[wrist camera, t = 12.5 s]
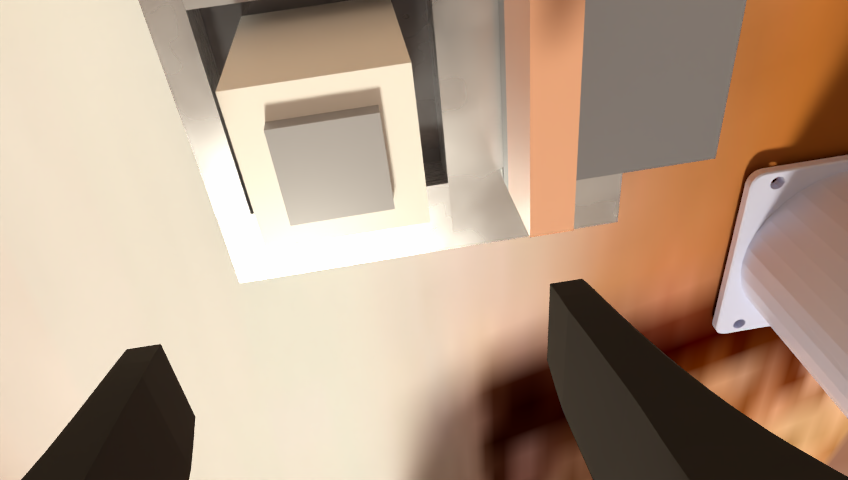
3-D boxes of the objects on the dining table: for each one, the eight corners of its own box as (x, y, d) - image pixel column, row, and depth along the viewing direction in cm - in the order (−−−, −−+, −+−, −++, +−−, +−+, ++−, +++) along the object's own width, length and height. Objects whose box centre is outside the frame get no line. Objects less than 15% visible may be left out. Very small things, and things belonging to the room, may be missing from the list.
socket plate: (623, -177, 16) (656, -173, 14) (596, 190, 23) (617, 222, 21) (125, -112, 15) (102, -100, 14) (245, 246, 22) (239, 283, 20)
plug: (388, -6, 17) (413, 69, 13) (406, 128, 19) (432, 231, 15) (241, 16, 17) (212, 99, 12) (277, 148, 19) (264, 259, 15)
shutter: (747, -77, 16) (824, -53, 13) (705, 148, 20) (759, 200, 17) (497, -42, 16) (529, -10, 13) (503, 180, 19) (530, 237, 17)
